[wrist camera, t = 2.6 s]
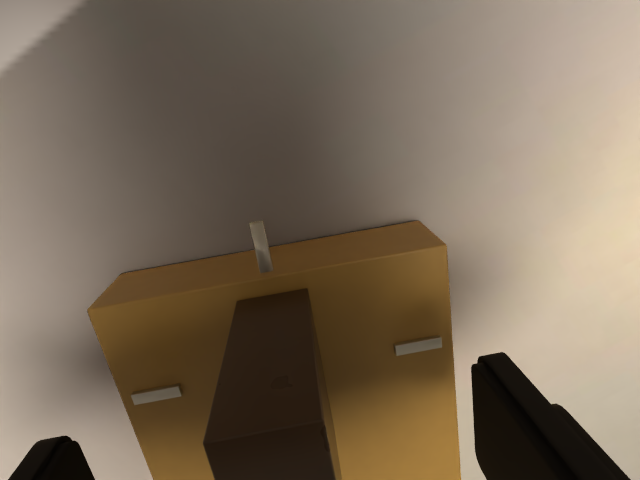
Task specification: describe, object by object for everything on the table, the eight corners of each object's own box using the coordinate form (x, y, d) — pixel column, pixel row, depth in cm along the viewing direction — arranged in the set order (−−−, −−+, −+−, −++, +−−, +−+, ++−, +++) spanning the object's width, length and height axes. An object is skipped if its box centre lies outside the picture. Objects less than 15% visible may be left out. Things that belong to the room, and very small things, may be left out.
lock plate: (104, 227, 13) (60, 257, 10) (415, 172, 13) (446, 189, 11) (210, 529, 17) (198, 602, 15) (441, 484, 18) (467, 548, 15)
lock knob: (235, 300, 11) (198, 455, 6) (307, 287, 11) (325, 431, 6) (271, 440, 13) (263, 651, 8) (334, 428, 13) (365, 630, 8)
